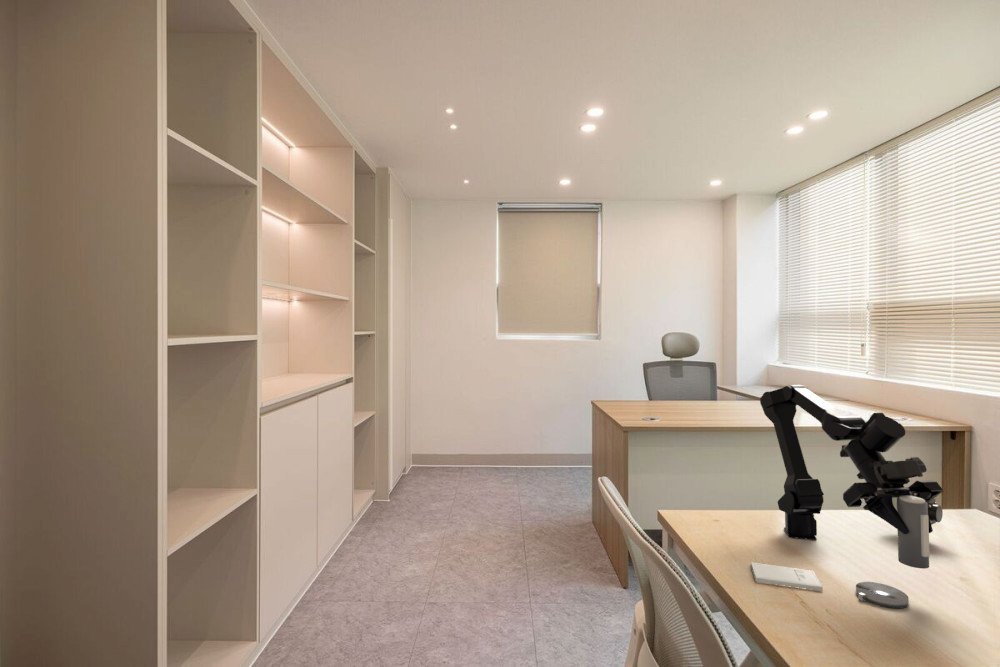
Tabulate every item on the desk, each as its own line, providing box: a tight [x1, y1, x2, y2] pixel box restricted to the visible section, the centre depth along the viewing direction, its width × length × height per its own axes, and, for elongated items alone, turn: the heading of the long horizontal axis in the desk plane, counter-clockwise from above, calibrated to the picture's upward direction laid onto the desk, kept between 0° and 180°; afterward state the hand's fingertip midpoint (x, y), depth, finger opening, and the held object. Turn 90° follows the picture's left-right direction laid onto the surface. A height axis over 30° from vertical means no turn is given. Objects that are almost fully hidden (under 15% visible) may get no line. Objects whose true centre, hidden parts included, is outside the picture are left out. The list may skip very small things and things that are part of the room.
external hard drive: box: [750, 561, 823, 592], centre depth 108 cm, size 2×8×12 cm
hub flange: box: [855, 581, 910, 610], centre depth 100 cm, size 9×8×1 cm
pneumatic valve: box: [892, 497, 944, 526], centre depth 131 cm, size 6×12×12 cm, turn 32°
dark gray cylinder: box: [897, 495, 930, 570], centre depth 100 cm, size 5×5×13 cm
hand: (918, 532), depth 99 cm, fingers closed on dark gray cylinder, 5 cm apart
